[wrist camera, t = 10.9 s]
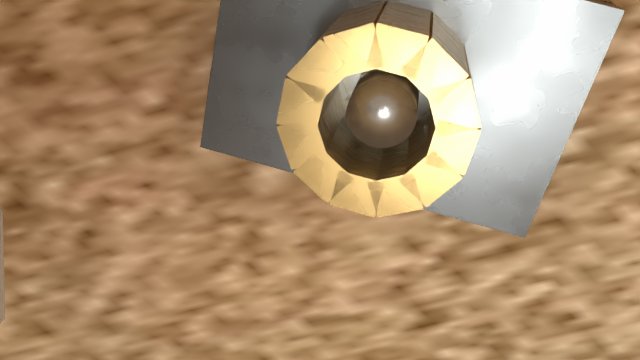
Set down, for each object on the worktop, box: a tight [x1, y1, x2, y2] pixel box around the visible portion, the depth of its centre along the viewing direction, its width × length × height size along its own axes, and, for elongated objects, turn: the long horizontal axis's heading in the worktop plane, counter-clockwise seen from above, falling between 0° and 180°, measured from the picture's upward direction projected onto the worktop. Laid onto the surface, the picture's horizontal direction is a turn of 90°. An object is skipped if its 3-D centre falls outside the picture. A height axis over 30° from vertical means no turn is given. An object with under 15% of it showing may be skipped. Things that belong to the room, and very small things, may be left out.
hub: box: [276, 0, 481, 218], centre depth 27 cm, size 8×8×6 cm
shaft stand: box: [200, 0, 625, 238], centre depth 28 cm, size 18×12×6 cm, turn 78°
